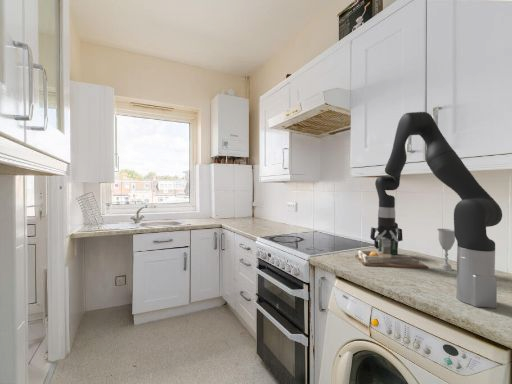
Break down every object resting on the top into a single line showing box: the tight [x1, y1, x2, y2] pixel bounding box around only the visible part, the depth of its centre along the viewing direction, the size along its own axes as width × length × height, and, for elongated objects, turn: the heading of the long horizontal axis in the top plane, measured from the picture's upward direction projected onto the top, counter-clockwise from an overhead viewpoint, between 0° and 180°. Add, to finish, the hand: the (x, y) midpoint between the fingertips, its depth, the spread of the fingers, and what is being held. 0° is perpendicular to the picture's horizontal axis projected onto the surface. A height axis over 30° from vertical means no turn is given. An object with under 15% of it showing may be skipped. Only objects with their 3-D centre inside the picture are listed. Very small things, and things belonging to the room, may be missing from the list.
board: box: [355, 249, 429, 270], centre depth 124 cm, size 16×28×4 cm, turn 83°
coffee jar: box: [377, 222, 399, 256], centre depth 140 cm, size 10×8×19 cm
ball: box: [369, 251, 379, 256], centre depth 124 cm, size 4×4×4 cm
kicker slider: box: [378, 238, 391, 259], centre depth 124 cm, size 5×4×10 cm
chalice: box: [437, 228, 456, 272], centre depth 114 cm, size 7×7×18 cm
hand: (386, 248), depth 124 cm, fingers open, 8 cm apart
